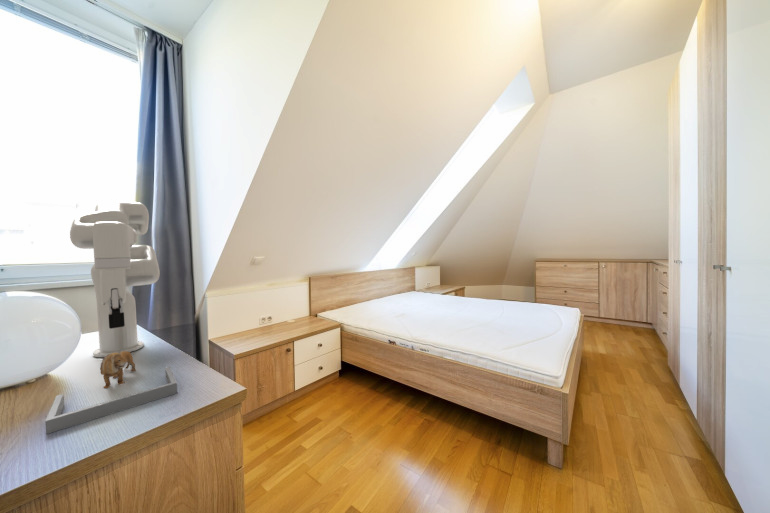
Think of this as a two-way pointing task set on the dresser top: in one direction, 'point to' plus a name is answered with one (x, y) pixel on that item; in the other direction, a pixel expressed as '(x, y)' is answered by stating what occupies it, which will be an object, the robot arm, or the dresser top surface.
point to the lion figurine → (116, 366)
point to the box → (106, 405)
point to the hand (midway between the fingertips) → (117, 327)
